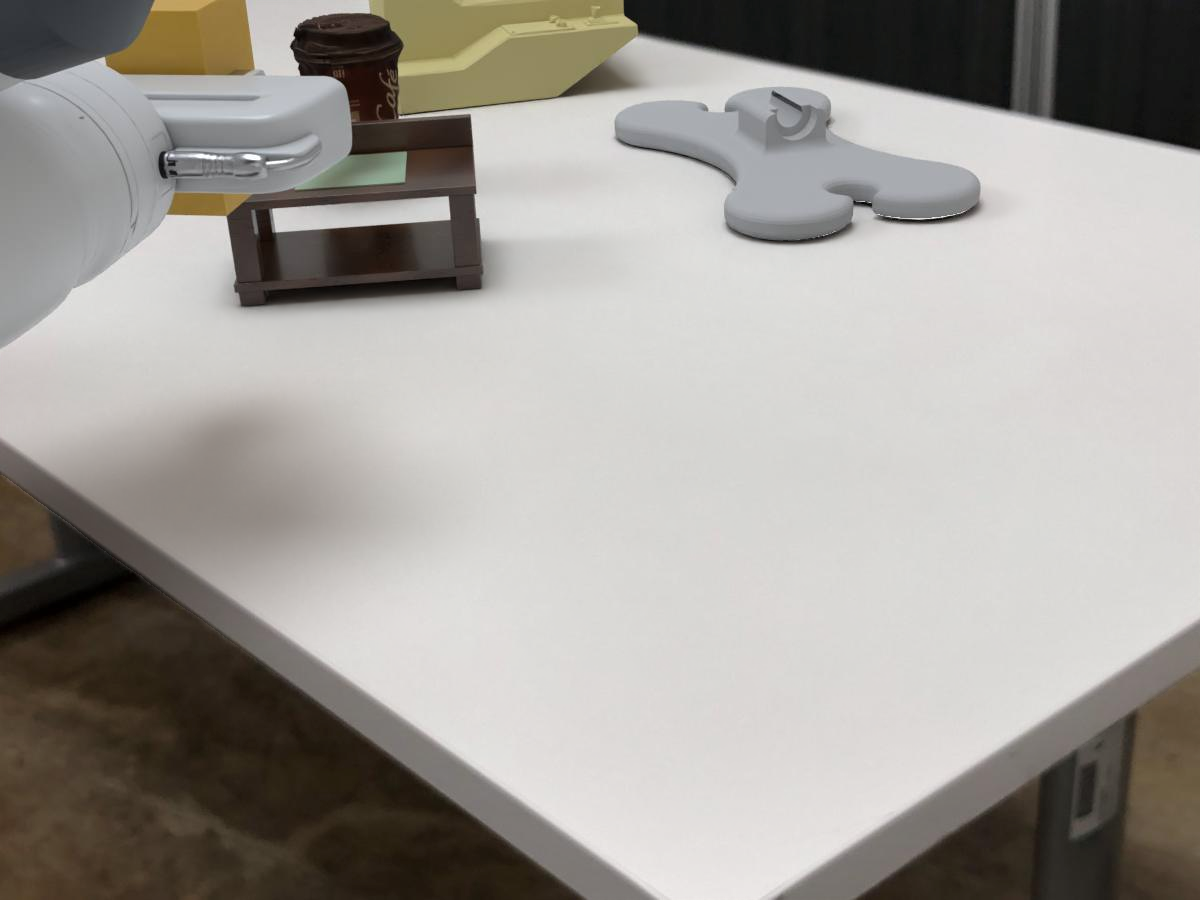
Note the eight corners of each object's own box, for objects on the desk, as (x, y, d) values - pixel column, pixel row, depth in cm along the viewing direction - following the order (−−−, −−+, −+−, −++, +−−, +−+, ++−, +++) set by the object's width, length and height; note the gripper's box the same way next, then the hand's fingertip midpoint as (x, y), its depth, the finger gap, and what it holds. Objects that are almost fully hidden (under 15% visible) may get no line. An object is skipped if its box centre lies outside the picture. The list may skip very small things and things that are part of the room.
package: (132, 214, 78) (95, 10, 74) (181, 178, 84) (150, -15, 79) (226, 216, 77) (196, 10, 73) (270, 179, 83) (243, -15, 78)
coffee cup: (286, 201, 121) (262, 30, 115) (339, 169, 128) (319, 7, 122) (386, 209, 118) (367, 35, 112) (435, 177, 125) (419, 11, 119)
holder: (804, 102, 140) (804, 46, 138) (1003, 212, 111) (1008, 143, 109) (601, 129, 135) (598, 71, 133) (753, 250, 106) (753, 179, 104)
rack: (237, 307, 101) (215, 172, 97) (253, 255, 110) (234, 129, 106) (484, 289, 102) (473, 154, 98) (481, 239, 111) (470, 113, 107)
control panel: (400, -43, 135) (358, -95, 151) (387, 132, 142) (348, 65, 159) (657, -25, 143) (591, -76, 159) (632, 139, 150) (572, 75, 167)
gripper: (286, 95, 63) (385, 21, 76) (-170, 90, 67) (-5, 20, 79) (305, 243, 66) (397, 149, 78) (-133, 231, 70) (20, 143, 82)
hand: (192, 84), depth 79 cm, fingers closed on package, 5 cm apart
